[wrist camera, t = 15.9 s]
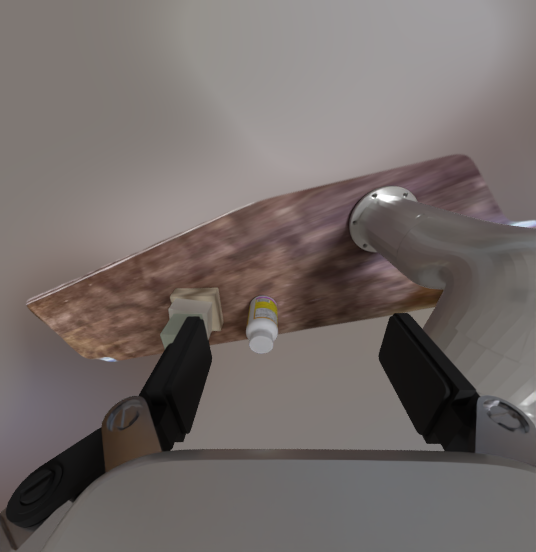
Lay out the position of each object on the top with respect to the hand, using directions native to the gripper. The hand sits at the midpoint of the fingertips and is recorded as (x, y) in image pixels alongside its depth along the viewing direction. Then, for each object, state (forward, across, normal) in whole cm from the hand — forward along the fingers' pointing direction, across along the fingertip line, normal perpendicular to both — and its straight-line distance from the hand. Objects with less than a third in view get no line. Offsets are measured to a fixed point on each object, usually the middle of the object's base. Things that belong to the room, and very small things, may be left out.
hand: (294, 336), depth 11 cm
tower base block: (+35, +19, +23) cm, 46 cm away
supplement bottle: (+34, +4, +23) cm, 42 cm away
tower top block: (+31, +20, +23) cm, 43 cm away
